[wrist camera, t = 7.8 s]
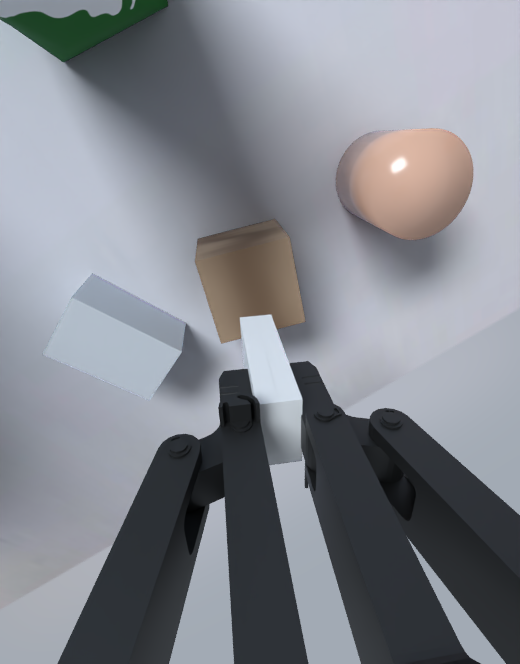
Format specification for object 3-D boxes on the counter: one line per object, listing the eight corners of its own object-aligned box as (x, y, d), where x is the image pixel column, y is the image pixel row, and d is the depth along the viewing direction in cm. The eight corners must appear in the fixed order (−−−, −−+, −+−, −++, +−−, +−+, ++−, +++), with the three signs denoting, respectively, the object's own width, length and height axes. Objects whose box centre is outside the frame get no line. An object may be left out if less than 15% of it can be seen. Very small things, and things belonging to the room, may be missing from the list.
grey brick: (67, 323, 30) (42, 354, 26) (92, 272, 29) (71, 297, 24) (157, 365, 33) (149, 400, 29) (186, 321, 31) (182, 351, 27)
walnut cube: (219, 308, 31) (221, 343, 26) (197, 238, 28) (194, 261, 23) (289, 290, 31) (305, 321, 26) (274, 218, 28) (289, 237, 23)
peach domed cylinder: (333, 221, 29) (367, 243, 23) (337, 133, 26) (377, 131, 20) (408, 215, 29) (461, 236, 23) (420, 128, 27) (483, 125, 20)
